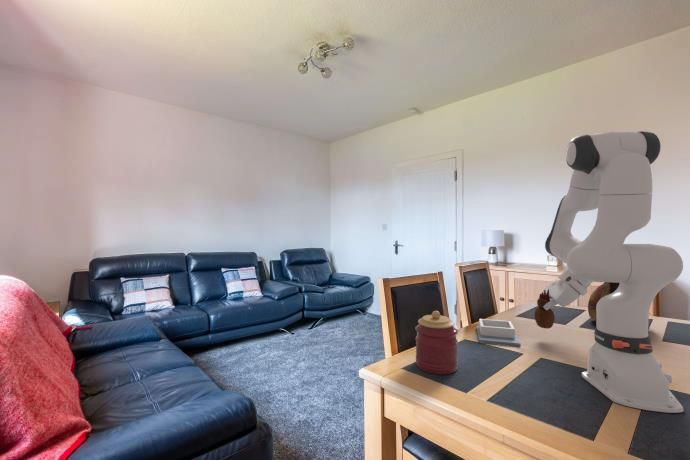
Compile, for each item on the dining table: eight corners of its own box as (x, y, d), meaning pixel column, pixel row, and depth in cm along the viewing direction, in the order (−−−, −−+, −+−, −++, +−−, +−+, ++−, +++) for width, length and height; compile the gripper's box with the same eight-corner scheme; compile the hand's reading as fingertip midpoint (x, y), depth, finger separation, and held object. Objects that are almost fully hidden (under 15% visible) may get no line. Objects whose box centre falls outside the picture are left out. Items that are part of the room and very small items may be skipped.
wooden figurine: (557, 329, 121) (557, 290, 121) (542, 329, 122) (541, 290, 122) (546, 324, 128) (546, 286, 128) (532, 324, 128) (531, 287, 128)
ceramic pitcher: (638, 321, 146) (638, 255, 146) (652, 335, 129) (652, 260, 128) (585, 316, 156) (584, 254, 156) (591, 327, 139) (591, 258, 138)
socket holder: (520, 346, 118) (520, 333, 118) (479, 342, 123) (478, 330, 123) (512, 331, 135) (512, 320, 135) (476, 328, 140) (476, 317, 140)
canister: (465, 365, 103) (464, 310, 103) (445, 379, 94) (444, 319, 94) (429, 354, 112) (428, 304, 112) (407, 366, 103) (407, 311, 103)
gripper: (556, 272, 132) (530, 295, 136) (573, 280, 113) (541, 306, 116) (569, 284, 131) (542, 306, 134) (589, 293, 112) (556, 319, 115)
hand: (542, 306), depth 125 cm, fingers closed on wooden figurine, 5 cm apart
